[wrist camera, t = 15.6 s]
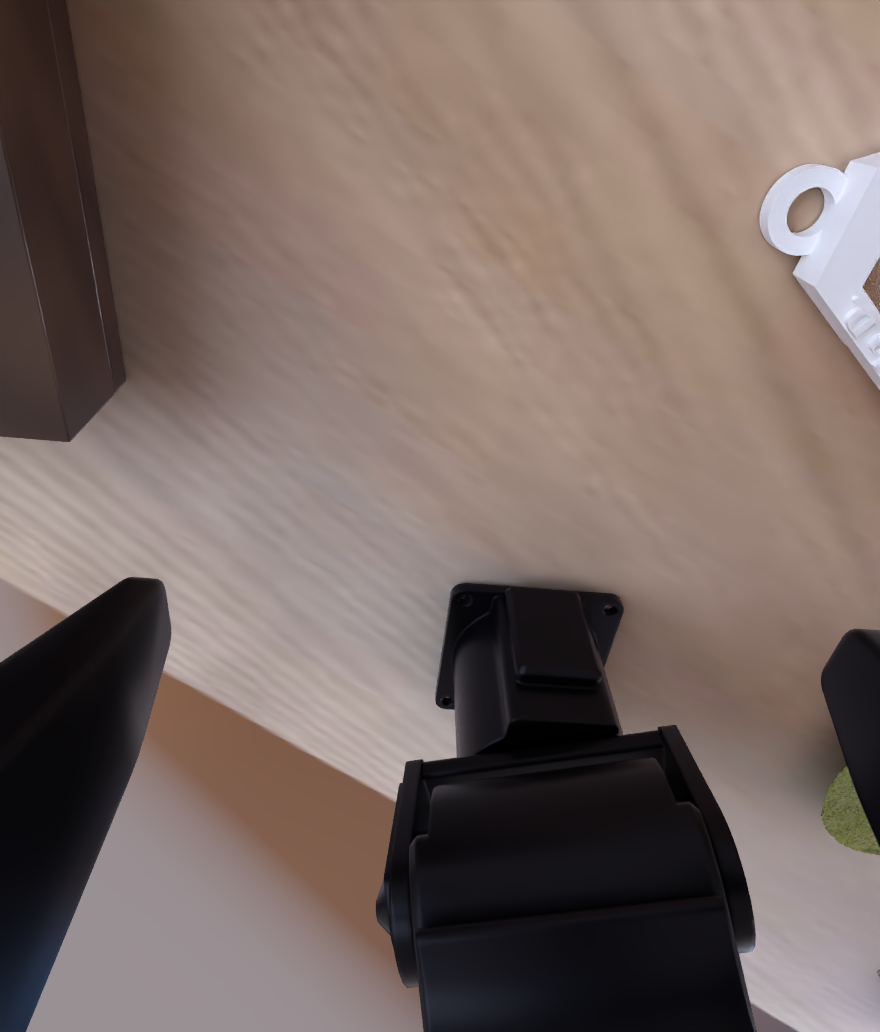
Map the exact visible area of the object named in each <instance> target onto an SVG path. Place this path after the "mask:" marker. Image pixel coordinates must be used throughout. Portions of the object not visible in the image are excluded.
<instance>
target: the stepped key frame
mask: <svg viewBox="0 0 880 1032" xmlns="http://www.w3.org/2000/svg"><path fill="white" fill-rule="evenodd" d="M814 187H819V188H820V189H821V191H822V192H823V194H824V209H823V211H822V214H821V215H820V217H819V219H818V220H817V221H816V222H815V223H814V224H813V225H812V226H811V227H810V228H808V229H806V230H804V231H802V232H798V233H792V232H791V231H790V230H789V228H788V226H787V213H788V210H789V207H790V205H791V204H792V202H793V201H794V199H795V198H796V197H797V196H798V195H799V194H801V193H802V192H804V191H805V190H807V189H810V188H814ZM760 228H761V232H762V234H763V237H764V238H765V239H766V241H767V242H768V243H769V244H770V245H772V246H773V247H774V248H776V249H778V250H780V251H782V252H784V253H786V254H789V255H795V256H801V255H802V256H801V258H800V260H799V262H798V264H797V266H796V268H795V270H794V272H793V275H794V276H795V278H796V279H797V281H798V282H799V283H800V285H801V286H802V287H803V289H804V290H805V292H806V293H807V294H808V296H809V297H810V298H811V300H812V301H813V302H814V304H815V305H816V307H817V308H818V309H819V311H820V312H821V313H822V315H823V316H824V317H825V319H826V320H827V322H828V323H829V324H830V326H831V327H832V328H833V330H834V331H835V333H836V334H837V335H838V337H839V338H840V339H841V341H842V342H843V343H844V344H845V345H846V346H848V348H849V349H850V350H851V352H852V353H853V355H854V356H855V357H856V359H857V360H858V361H859V363H860V364H861V366H862V367H863V368H864V370H865V371H866V372H867V374H868V375H869V377H870V378H871V379H872V381H873V382H874V383H875V385H876V386H877V387H878V389H879V390H880V313H879V311H878V310H877V308H876V307H875V305H874V304H873V302H872V301H871V299H870V298H869V296H868V295H867V293H866V292H865V291H864V289H863V288H862V286H863V284H864V283H865V281H866V279H867V278H868V276H869V274H870V272H871V271H872V269H873V267H874V265H875V264H876V262H877V260H878V259H879V257H880V152H878V153H875V154H871V155H868V156H865V157H861V158H858V159H855V160H851V161H850V162H849V164H848V166H847V168H846V170H845V172H844V173H842V172H841V171H839V170H838V169H835V168H832V167H828V166H825V165H821V164H806V165H802V166H799V167H796V168H794V169H792V170H790V171H789V172H787V173H785V174H784V175H783V176H782V177H781V178H779V179H778V180H777V181H776V183H775V184H774V185H773V186H772V187H771V189H770V190H769V192H768V193H767V195H766V197H765V199H764V201H763V204H762V207H761V211H760Z"/></svg>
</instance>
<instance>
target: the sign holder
mask: <svg viewBox="0 0 880 1032" xmlns="http://www.w3.org/2000/svg"><path fill="white" fill-rule="evenodd" d="M125 381H126V377H125V371H124V365H123V358H122V352H121V346H120V340H119V333H118V327H117V321H116V315H115V308H114V302H113V296H112V290H111V283H110V277H109V271H108V264H107V258H106V252H105V246H104V239H103V233H102V227H101V221H100V214H99V208H98V202H97V196H96V189H95V183H94V177H93V171H92V164H91V158H90V152H89V145H88V139H87V133H86V127H85V120H84V114H83V108H82V102H81V95H80V89H79V83H78V77H77V70H76V64H75V58H74V52H73V45H72V39H71V33H70V26H69V20H68V14H67V8H66V1H65V0H0V436H3V437H15V438H27V439H38V440H50V441H62V442H70V441H71V440H72V439H73V438H74V437H75V436H76V435H77V434H78V433H79V432H80V431H81V429H82V428H83V427H84V426H85V425H86V424H87V423H88V422H89V421H90V420H91V419H92V418H93V417H94V415H95V414H96V413H97V412H98V411H99V410H100V409H101V408H102V407H103V406H104V405H105V404H106V403H107V401H108V400H109V399H110V398H111V397H112V396H113V395H114V393H115V392H116V391H117V390H118V389H119V388H120V387H121V386H122V385H123V383H124V382H125Z"/></svg>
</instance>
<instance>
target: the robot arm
mask: <svg viewBox="0 0 880 1032" xmlns="http://www.w3.org/2000/svg"><path fill="white" fill-rule="evenodd" d="M463 595H467V596H469V597H468V598H465V599H462V598H460V597H461V596H463ZM608 606H613V607H612V608H610V609H605V608H606V607H608ZM622 614H623V605H622V602H621V600H620V598H619V597H618V596H617V595H614V594H607V593H593V592H580V591H566V590H552V589H539V588H525V587H511V586H498V585H484V584H470V583H462V584H458V585H456V586H455V587H454V588H453V589H452V591H451V595H450V601H449V608H448V614H447V621H446V627H445V634H444V640H443V647H442V653H441V660H440V667H439V673H438V680H437V686H436V693H435V694H436V704H437V705H438V706H439V707H440V708H443V709H453V710H455V726H456V749H457V758H450V759H443V760H436V761H428V762H424V761H423V759H421V760H414V761H407V762H406V765H405V771H404V777H403V783H400V785H399V789H398V795H397V801H396V807H395V813H394V819H393V826H392V831H391V837H390V843H389V849H388V855H387V861H386V867H385V873H384V881H383V884H382V886H381V889H380V892H379V894H378V897H377V900H376V916H377V921H378V923H379V924H380V925H381V926H382V927H383V928H384V929H385V930H386V931H387V933H388V934H389V935H390V936H391V940H392V944H393V948H394V952H395V958H396V963H397V967H398V971H399V974H400V977H401V979H402V982H403V983H404V985H405V986H406V987H407V988H412V987H419V993H420V1002H421V1010H422V1020H423V1029H424V1032H757V1031H756V1027H755V1023H754V1018H753V1014H752V1009H751V1005H750V1001H749V996H748V992H747V988H746V983H745V979H744V974H743V970H742V966H741V961H740V957H739V953H746V952H753V950H754V948H755V936H756V934H755V924H754V916H753V910H752V905H751V899H750V895H749V891H748V886H747V882H746V878H745V875H744V871H743V868H742V864H741V860H740V857H739V854H738V851H737V848H736V845H735V842H734V839H733V837H732V834H731V832H730V829H729V827H728V824H727V822H726V820H725V818H724V816H723V813H722V811H721V809H720V807H719V806H718V804H717V802H716V800H715V798H714V796H713V794H712V792H711V790H710V789H709V787H708V785H707V783H706V781H705V779H704V777H703V775H702V773H701V772H700V770H699V768H698V766H697V764H696V762H695V760H694V758H693V756H692V755H691V753H690V751H689V749H688V747H687V745H686V743H685V741H684V739H683V738H682V736H681V734H680V732H679V730H678V728H677V726H676V725H671V726H663V727H658V730H656V731H649V732H642V733H634V734H627V735H623V732H622V728H621V725H620V722H619V718H618V715H617V711H616V708H615V704H614V701H613V698H612V694H611V691H610V687H609V684H608V680H607V677H606V674H605V670H604V666H605V663H606V660H607V657H608V654H609V652H610V649H611V646H612V643H613V640H614V637H615V634H616V631H617V628H618V626H619V623H620V620H621V617H622ZM170 641H171V623H170V616H169V610H168V603H167V597H166V590H165V586H164V584H163V582H162V581H160V580H159V579H152V578H138V577H129V578H126V579H124V580H122V581H121V582H119V583H118V584H116V585H115V586H113V587H112V588H110V589H109V590H107V591H106V592H104V593H103V594H101V595H100V596H98V597H97V598H95V599H94V600H92V601H91V602H89V603H88V604H87V605H85V606H84V607H82V608H81V609H79V610H78V611H76V612H75V613H73V614H72V615H70V616H69V617H67V618H66V619H64V620H63V621H61V622H60V623H58V624H57V625H55V626H54V627H53V628H51V629H49V630H48V631H46V632H45V633H44V634H42V635H41V636H39V637H38V638H36V639H35V640H33V641H32V642H30V643H29V644H27V645H26V646H24V647H23V648H21V649H20V650H18V651H17V652H15V653H14V654H13V655H11V656H9V657H8V658H6V659H5V660H4V661H2V662H0V1032H26V1030H27V1027H28V1025H29V1023H30V1020H31V1018H32V1015H33V1013H34V1010H35V1008H36V1005H37V1003H38V1000H39V998H40V996H41V993H42V991H43V988H44V986H45V984H46V981H47V979H48V976H49V974H50V971H51V969H52V967H53V964H54V962H55V959H56V957H57V954H58V952H59V950H60V947H61V945H62V942H63V940H64V937H65V935H66V932H67V930H68V927H69V925H70V923H71V920H72V918H73V915H74V913H75V910H76V908H77V906H78V903H79V901H80V898H81V896H82V893H83V891H84V889H85V886H86V884H87V881H88V879H89V876H90V874H91V872H92V869H93V867H94V864H95V862H96V859H97V857H98V855H99V852H100V850H101V847H102V845H103V842H104V840H105V837H106V835H107V832H108V830H109V828H110V825H111V823H112V820H113V818H114V815H115V813H116V811H117V808H118V806H119V803H120V801H121V798H122V796H123V794H124V791H125V789H126V786H127V784H128V781H129V779H130V776H131V774H132V772H133V769H134V766H135V763H136V761H137V758H138V756H139V752H140V749H141V746H142V742H143V739H144V736H145V732H146V729H147V725H148V721H149V718H150V714H151V711H152V707H153V704H154V700H155V696H156V693H157V689H158V686H159V682H160V678H161V675H162V671H163V668H164V664H165V661H166V657H167V653H168V650H169V646H170ZM821 686H822V691H823V694H824V697H825V700H826V703H827V706H828V709H829V712H830V715H831V718H832V721H833V724H834V727H835V731H836V734H837V737H838V740H839V743H840V746H841V749H842V752H843V755H844V758H845V761H846V764H847V767H848V771H849V774H850V777H851V779H852V782H853V785H854V788H855V791H856V793H857V796H858V798H859V801H860V803H861V806H862V808H863V811H864V813H865V815H866V817H867V820H868V822H869V824H870V827H871V829H872V831H873V833H874V836H875V838H876V840H877V843H878V845H879V847H880V631H879V630H867V629H852V630H850V631H848V632H847V633H845V635H844V636H843V637H842V639H841V641H840V642H839V644H838V646H837V647H836V649H835V650H834V652H833V654H832V655H831V657H830V659H829V660H828V662H827V664H826V665H825V667H824V669H823V671H822V675H821ZM446 697H449V698H446Z"/></svg>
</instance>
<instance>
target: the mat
mask: <svg viewBox="0 0 880 1032" xmlns="http://www.w3.org/2000/svg"><path fill="white" fill-rule="evenodd" d="M821 816H823V819H822V820H823V822H824V823H823V824H824V825H825V826H826V827H825V828H826V829H827V831H828V832H829V833H830V835H832V836H833V837H835V839H836V840H837V841H838V842H839V843H841V844H844V845H845V846H846V847H849V848H852V849H853V850H856V851H862V852H865V853H869V854H876V855H880V847H879V845H878V843H877V840H876V838H875V836H874V833H873V831H872V829H871V827H870V824H869V822H868V820H867V817H866V815H865V813H864V811H863V808H862V806H861V803H860V801H859V798H858V796H857V793H856V791H855V788H854V785H853V782H852V779H851V777H850V774H849V771H848V767H847V766H845V768H844V769H843V771H842V772H839V773H838V776H837V777H836V778H835V780H834V781H833V783H832V784H831V785H830V786H829V787H828V791H827V795H826V797H825V799H824V801H823V807H822V814H821Z"/></svg>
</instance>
